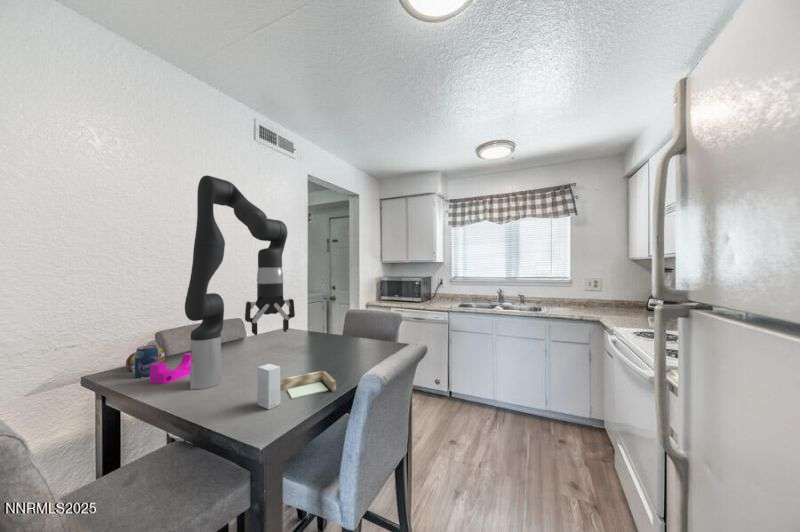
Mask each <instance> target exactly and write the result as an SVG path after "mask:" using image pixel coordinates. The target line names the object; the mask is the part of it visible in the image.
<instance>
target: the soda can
mask: <svg viewBox="0 0 800 532" xmlns="http://www.w3.org/2000/svg"><path fill="white" fill-rule="evenodd" d="M157 347H158V346H157V345H156V344H151V345H149V344H148V345H142V346H138V347H137V348H136V350H135V352H134V353H135V371H134V378H136V377H138V378H137V379H142V378H141V377H148V378H150V377H149V376H150V365H151V364H154V363H157V362H158V349H157Z"/></svg>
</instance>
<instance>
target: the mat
mask: <svg viewBox="0 0 800 532" xmlns="http://www.w3.org/2000/svg"><path fill="white" fill-rule="evenodd" d="M286 391H287V393H288V395H289V397H290V398H291V400H296V399H298V398H303V397H308V396H312V395H316V394H319V393H323V392H325V393H326V392H327V391H329V388H328V387H326V385H324V384H323V383H322V381H320V382H316V383H311V384H307V385H302V386H297V387H293V388H288V389H286Z"/></svg>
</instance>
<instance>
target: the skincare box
mask: <svg viewBox="0 0 800 532" xmlns="http://www.w3.org/2000/svg"><path fill="white" fill-rule="evenodd" d="M280 379H281V366H278V365H275V364H272V363H267V364H263V365H260V366H257V406H259V407H261V408H264V409H267V410H271V409H273V408H275V407H278V406H280V405H281V390H280Z"/></svg>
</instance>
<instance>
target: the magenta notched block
mask: <svg viewBox="0 0 800 532" xmlns="http://www.w3.org/2000/svg"><path fill="white" fill-rule="evenodd" d="M190 362H191V352H187V353H184V354H182V358H181V361H180V362H179V364H178V365H177V366H175V367H174V368H172V369H169V368H168V366H167V365H166V362H161V363H158V362H157V363H154V364H151V365H150V377H149V383H151V382H155V383H154V384H159V383H162V384H161V385H165V384H167V382H168V383H169V381H170V382H172V380H173V381H175V380H178V379H180V378H183V377H184V376H188V375H190ZM182 376H183V377H182ZM177 378H178V379H177ZM174 379H175V380H174ZM164 383H165V384H164Z"/></svg>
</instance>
